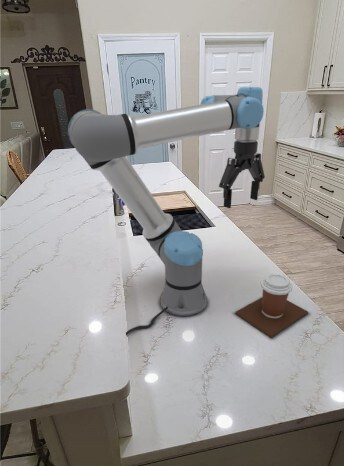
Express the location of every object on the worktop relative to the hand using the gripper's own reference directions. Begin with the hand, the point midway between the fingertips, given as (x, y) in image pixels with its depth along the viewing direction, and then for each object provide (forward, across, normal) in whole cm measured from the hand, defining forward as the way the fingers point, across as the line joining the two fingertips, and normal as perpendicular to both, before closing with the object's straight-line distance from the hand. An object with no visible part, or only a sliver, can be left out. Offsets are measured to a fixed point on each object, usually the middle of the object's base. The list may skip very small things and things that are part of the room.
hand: (240, 203), depth 116 cm
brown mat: (+27, +12, +27) cm, 40 cm away
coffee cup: (+26, +12, +27) cm, 39 cm away
